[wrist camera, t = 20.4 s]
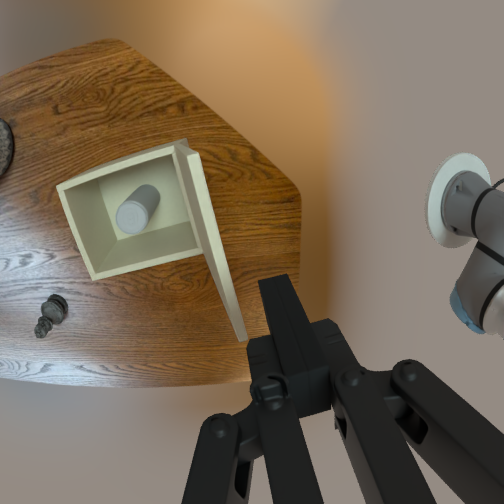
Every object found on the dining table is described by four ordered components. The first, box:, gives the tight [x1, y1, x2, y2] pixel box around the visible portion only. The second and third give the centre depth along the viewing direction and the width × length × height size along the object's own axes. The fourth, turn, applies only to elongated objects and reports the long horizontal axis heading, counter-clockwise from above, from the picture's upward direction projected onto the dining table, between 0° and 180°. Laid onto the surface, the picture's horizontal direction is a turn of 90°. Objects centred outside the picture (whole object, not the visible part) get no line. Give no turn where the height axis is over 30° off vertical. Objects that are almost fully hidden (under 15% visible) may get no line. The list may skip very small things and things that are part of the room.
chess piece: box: [34, 294, 68, 338], centre depth 52 cm, size 6×6×12 cm
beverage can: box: [115, 184, 160, 235], centre depth 45 cm, size 5×5×12 cm
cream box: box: [56, 138, 203, 281], centre depth 45 cm, size 18×15×14 cm
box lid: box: [174, 144, 248, 342], centre depth 30 cm, size 19×15×1 cm
